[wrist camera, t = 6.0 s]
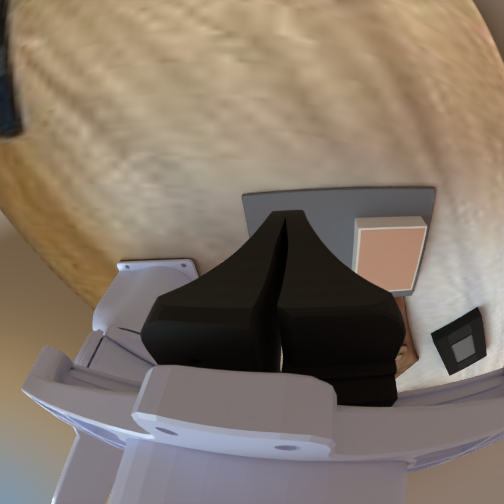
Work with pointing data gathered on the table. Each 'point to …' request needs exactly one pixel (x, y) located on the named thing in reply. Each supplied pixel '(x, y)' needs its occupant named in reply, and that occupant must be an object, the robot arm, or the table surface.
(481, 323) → the vhs tape
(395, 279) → the tile
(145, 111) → the table surface
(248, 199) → the mat
